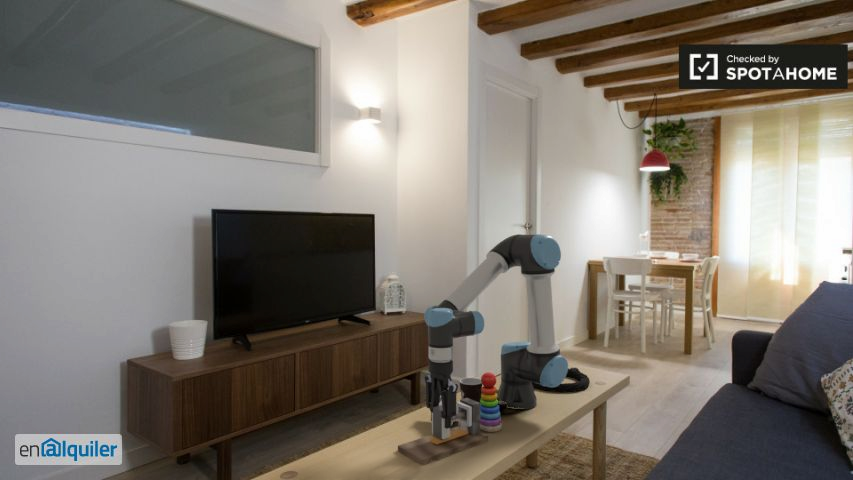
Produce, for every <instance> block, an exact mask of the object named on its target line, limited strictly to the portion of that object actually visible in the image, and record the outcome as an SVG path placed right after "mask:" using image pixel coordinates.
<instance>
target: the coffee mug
mask: <svg viewBox="0 0 853 480" xmlns="http://www.w3.org/2000/svg"><path fill="white" fill-rule="evenodd" d="M482 387H483V384H482V382H481V378H478V377H463V378H461V379H459V389H460V397H461V399H465V398H469V399H471V400H474V401H477V402H479V403H480V400H481V399H482V398H481V394H482V391H481V389H482ZM461 399H460V400H461ZM480 404H481V403H480Z"/></svg>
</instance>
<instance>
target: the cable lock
mask: <svg viewBox="0 0 853 480" xmlns="http://www.w3.org/2000/svg"><path fill="white" fill-rule="evenodd" d="M566 377H567V378H573V379H575V380H579V381H575V382H566V383H561V384H560V385H559V386H557V387H547V386H542V385H540V384H537V383H534V382H532V386H533V389H537V390H542V391H546V392H552V393H553V392H556V393H573V392H579V391H583V390H585V389H586V388H587V387H589V386H590V378H589V376H588V375H587V374H585V373H583V372H581V371H580V370H579V369H578V368H577V367H570V368H569V367H568V372H567V375H566Z"/></svg>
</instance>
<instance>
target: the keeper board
mask: <svg viewBox="0 0 853 480" xmlns="http://www.w3.org/2000/svg"><path fill="white" fill-rule="evenodd" d="M459 402H461V403H464V404H466V405H469V406H471V407H472V426H468V434H466V435H463V436H460V437H457V438H454V439H451V440H448V441H445V442H443V443H440V444H437V445H436V444H434V443H433V442H431V441H430V438H432V437H434V436H433V434H431V435H427V436H424V437H421V438H418V439H415V440H412V441H408V442H405V443H401V444H398V445H397V451H398V452H399V453H401V454H403V455H404V456H406V457H408V458H409V459H411V460H412V461H414V462H415V463H417V464H419V465H421V466H424V465H427V464H429V463H432V462H434V461H437V460H439V459H444V458H445V457H449V456H451V455H454V454H456V453H460V452H462V451H465V450H467V449H468V450H469V449H471V448H473V447H476V446H479V445H481V444H484V443H486V442H488V441H489V438H488V436H487V435H485V434H483V433H481V429H480V405H481V403H479V402H477V401H474V400H471V399H469V398H465V399H460V401H459ZM458 418H463V419H465V420H467V410H466V409H464V408H461V412H459V413H456V416H453V417H451V420H452V421H453V420H455V419H458ZM459 423H460V422H459ZM459 428H461V423H460V424H459V425H458V426H457V427H451V428H450V431H453V430H456V429H459Z"/></svg>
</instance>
